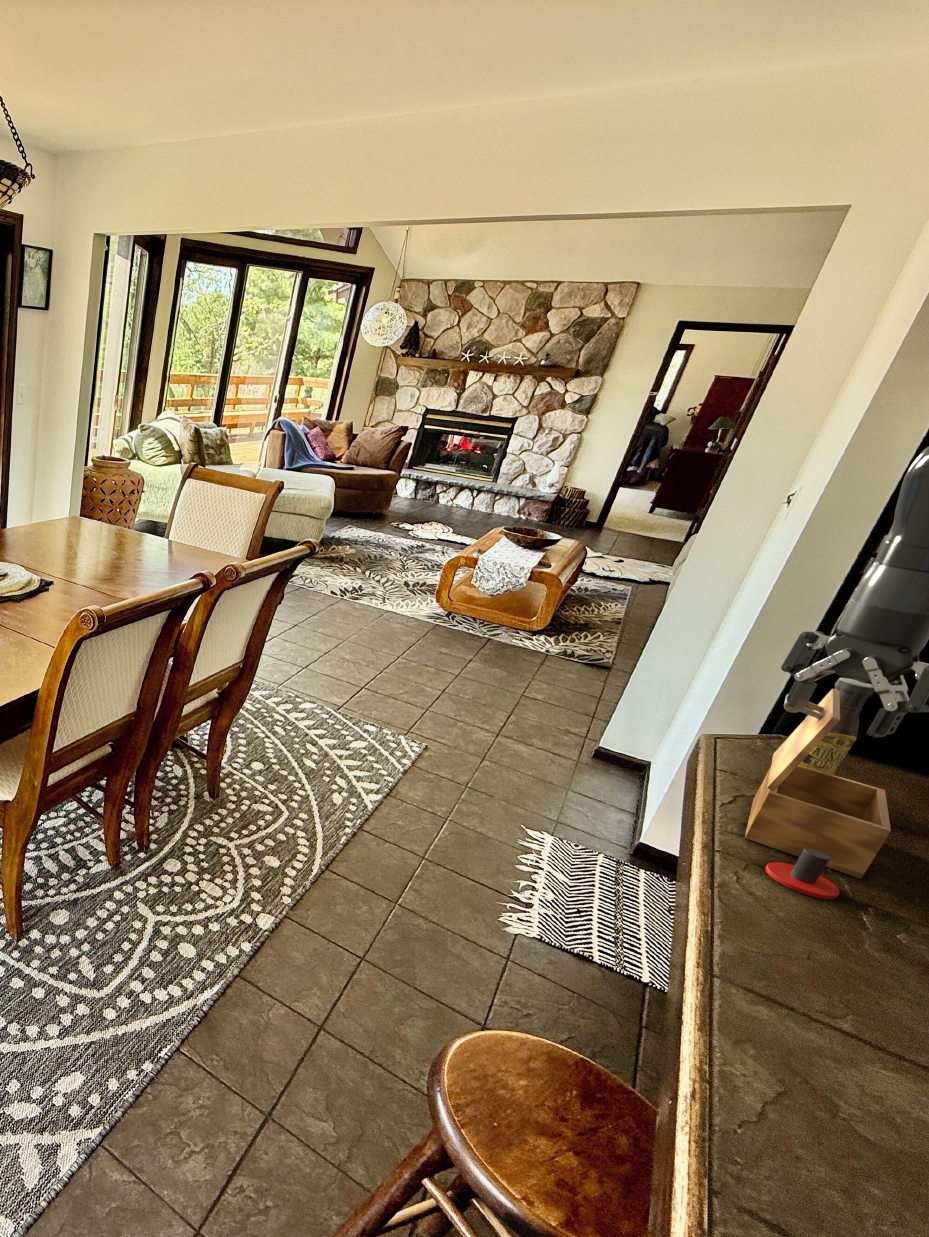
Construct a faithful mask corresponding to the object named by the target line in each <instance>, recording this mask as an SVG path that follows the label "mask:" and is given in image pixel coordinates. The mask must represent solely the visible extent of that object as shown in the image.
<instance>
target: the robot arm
mask: <svg viewBox="0 0 929 1237" xmlns="http://www.w3.org/2000/svg"><path fill="white" fill-rule="evenodd" d="M894 510H895V511H894V519H893V523H892V527H891V528H890V531H889V532H888V534H887V535H886V537H885V539H884V541H883V543H882V545H881V547H880V549H879V551H878V552H877V554H876V557H875V558H874V561H873V563H871V565H870V567H869V568H868V570H867V571H866V572H865V573H864V575H863V576H862V578H861V580H860V581H859V583H858V585H857V587H856V588H855V589H854V591H853V595H852V597H851V598H850V600H849V603H848V604H847V606H846V608H845V610H844V612H843V614H842V616H841V619H840V620H839V622H838V624H837V625H836V632H835V633H834V635H832V636H829V635H825V633H824V632H823V631H820V630H819V631H817V630H810V631H809V630H808V631H802V632H801V633H799V635H798V637H797V639H796V640H795V642H794V643H793V646H792V647H791V649H790V651H789V652H788V653H787V655H786V657H785V659H784V661H783V663H782V664H781V667H780V669H781V671H782V672H785V673H788V674H789V675H791V676H792V677H793V678H794V682H793V684H792V686H791V688H790V690H789V691H788V693H787V694H788V696H787V702H789V703H788V706H789V707H791V708H794V709H803V708H805V707H806V705H807V703H808V702H810V700H811V698H812V695H813V694H814V692H815V690H816V688H817V687H818V683H816V681H818V680H820V679H823V678H825V677H826V676H829V675H832V674H835V675H836V676H841V677H842V678H851V679H854V680H857V681H859V682H862V683H866V684H871V685H873V688H874V693H876V694H877V695H878V696H879V699H880V701H881V703H882V706H883V708H879V710H878V712H877V714H876V715H875V717H874V719H873V721H872V722H871V724H870V726H869V727H868V730H867V731H866V735H868V736H869V737H873V738H884V737H886V736H891V735H892V734H894V733H895V732H896V730H897V728H898V727H899V725H900V724H901V722H902V720H903V719H904V716H905V715H906V714H907V713H913V714H915V713H916V714H919V713H929V663H927V662H924V661H920V658H919V656H920V652H921V651H922V650H923V649H924V647H925V646H926V645H927V643H928V641H929V446H927V447H926V448H924V449H923V450H922V451H921V452H920V454H918V455H917V456H916V458H915V459H914V460H913V461H912V463H911V465H910V466H909V468H908V469H907V472H906V474H905V475H904V478H903V481H902V483H901V487H900V490H899V495H898V498H897V502H896V506H895V509H894ZM822 648H825V651H826V654H827V657H825V658H823V659H821V660H819V661H816V662H814V663H813V664H810V665H809V663H810V662H811V660H812V659H813V657H814V655H815V654H816V653H817V650H821V649H822ZM808 665H809V667H808ZM912 671H914V673H915V674H914V678H915V679H916V680H917V682H916V684H915V686H914V688H913V690H912V692H911V694H910V696H909V695H908V691H909V687H908V684H907V681H906V680H905V676H904V675H906V674H908V673H910V672H912ZM806 708H807V707H806Z"/></svg>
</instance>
